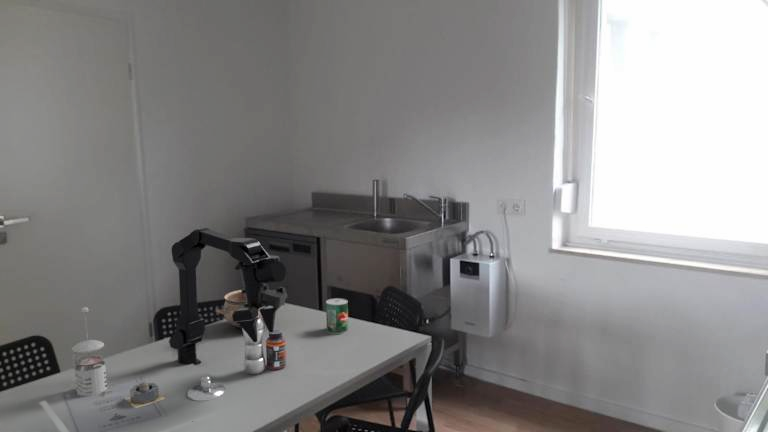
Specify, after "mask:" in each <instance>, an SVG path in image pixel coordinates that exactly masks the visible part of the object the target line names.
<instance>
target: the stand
mask: <svg viewBox="0 0 768 432" xmlns="http://www.w3.org/2000/svg"><path fill="white" fill-rule="evenodd" d="M148 383H149V382H147V381H142V382H140V383H139V384H140V385H139V384H138V385H139V391H140V392H144V391H147V390H149V384H148ZM124 399H125V401H126V402H128V403H129V404H130V405H131V406H132V407H133V408H134V409H138V408H141V407H144V406H147V405H150V404H154V403H157V402H160V401H164V400H166V398H165V397H164V396H163V395H161V393H159V397H158V398H157V399H156V400H155V401H153V402H150V403H147V404H134V403H133V402H131V399H130V396H128V397H125V398H124Z"/></svg>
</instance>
